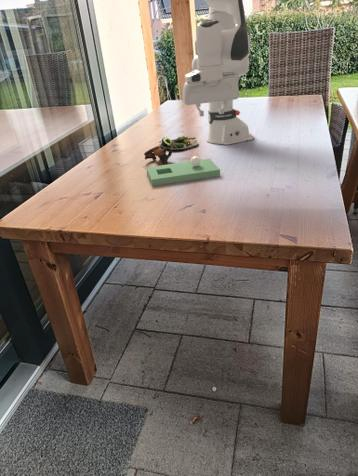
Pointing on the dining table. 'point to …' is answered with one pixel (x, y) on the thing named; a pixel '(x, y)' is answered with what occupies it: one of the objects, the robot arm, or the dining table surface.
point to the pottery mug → (160, 153)
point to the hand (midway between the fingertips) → (211, 114)
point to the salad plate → (177, 143)
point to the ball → (195, 161)
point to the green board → (181, 172)
